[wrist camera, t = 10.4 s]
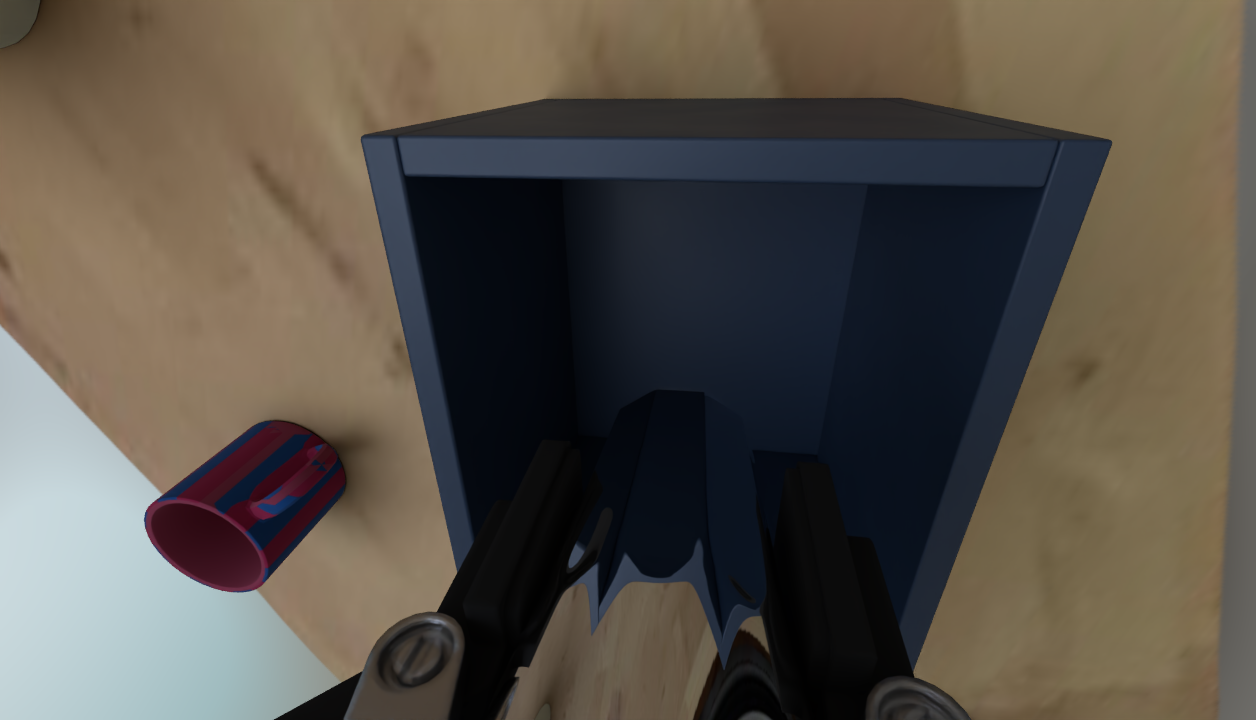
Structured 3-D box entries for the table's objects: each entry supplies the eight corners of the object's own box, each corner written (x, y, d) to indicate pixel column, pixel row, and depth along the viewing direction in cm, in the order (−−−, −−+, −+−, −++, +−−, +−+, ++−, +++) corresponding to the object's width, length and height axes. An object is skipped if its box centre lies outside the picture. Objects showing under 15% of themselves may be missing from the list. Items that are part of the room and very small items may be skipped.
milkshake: (721, 563, 14) (728, 1356, 6) (547, 453, 13) (226, 1194, 5) (854, 456, 12) (1203, 1461, 3) (657, 317, 11) (450, 1204, 3)
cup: (223, 439, 34) (118, 517, 28) (335, 386, 31) (242, 463, 25) (295, 516, 37) (212, 603, 31) (407, 475, 33) (337, 564, 27)
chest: (543, 99, 22) (357, 135, 11) (901, 97, 20) (1116, 140, 9) (568, 436, 30) (475, 657, 19) (828, 459, 28) (896, 719, 17)
